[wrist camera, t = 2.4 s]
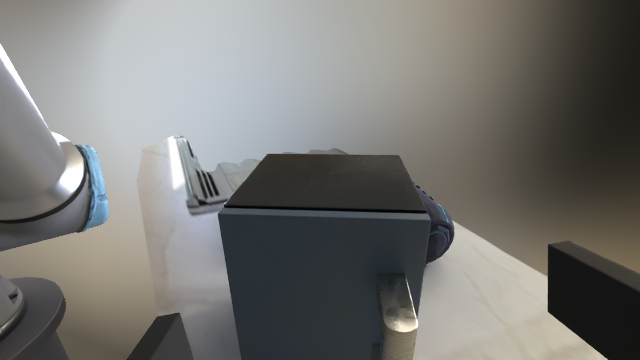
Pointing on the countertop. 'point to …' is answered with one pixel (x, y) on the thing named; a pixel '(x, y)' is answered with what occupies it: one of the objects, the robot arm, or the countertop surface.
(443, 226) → the portable speaker
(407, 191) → the box
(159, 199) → the countertop surface
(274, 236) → the freezer door
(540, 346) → the countertop surface
